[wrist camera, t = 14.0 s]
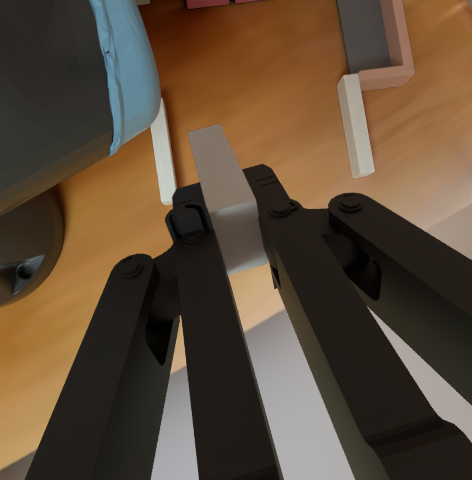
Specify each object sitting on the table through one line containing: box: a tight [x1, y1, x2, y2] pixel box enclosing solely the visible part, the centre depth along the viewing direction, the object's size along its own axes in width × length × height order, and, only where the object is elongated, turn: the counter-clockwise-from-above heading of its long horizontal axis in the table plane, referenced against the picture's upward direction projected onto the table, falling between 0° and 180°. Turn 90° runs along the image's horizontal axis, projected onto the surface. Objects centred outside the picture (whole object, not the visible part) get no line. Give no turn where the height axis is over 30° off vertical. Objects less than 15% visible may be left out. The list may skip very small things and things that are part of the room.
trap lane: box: [135, 0, 415, 205], centre depth 34 cm, size 32×32×5 cm
